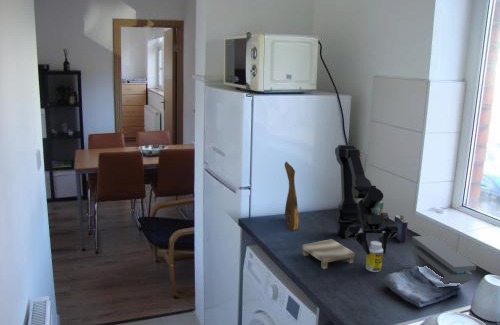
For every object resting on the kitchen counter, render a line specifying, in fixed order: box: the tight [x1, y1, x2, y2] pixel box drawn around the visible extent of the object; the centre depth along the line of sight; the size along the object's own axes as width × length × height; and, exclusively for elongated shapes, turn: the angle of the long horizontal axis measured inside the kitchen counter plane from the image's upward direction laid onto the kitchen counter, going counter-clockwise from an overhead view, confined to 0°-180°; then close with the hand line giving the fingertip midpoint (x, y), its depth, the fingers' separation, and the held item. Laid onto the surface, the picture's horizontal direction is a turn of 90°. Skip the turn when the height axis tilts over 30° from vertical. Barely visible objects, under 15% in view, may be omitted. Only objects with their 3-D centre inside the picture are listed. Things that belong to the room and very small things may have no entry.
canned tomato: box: [375, 199, 384, 215], centre depth 209 cm, size 8×8×11 cm
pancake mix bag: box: [284, 161, 299, 232], centre depth 202 cm, size 7×19×28 cm, turn 179°
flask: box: [393, 214, 409, 243], centre depth 192 cm, size 9×3×11 cm, turn 8°
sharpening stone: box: [411, 235, 477, 286], centre depth 157 cm, size 25×8×11 cm, turn 11°
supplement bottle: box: [365, 240, 384, 273], centre depth 162 cm, size 6×6×10 cm
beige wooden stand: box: [301, 238, 356, 270], centre depth 171 cm, size 14×14×4 cm
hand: (376, 253), depth 161 cm, fingers closed on supplement bottle, 5 cm apart
